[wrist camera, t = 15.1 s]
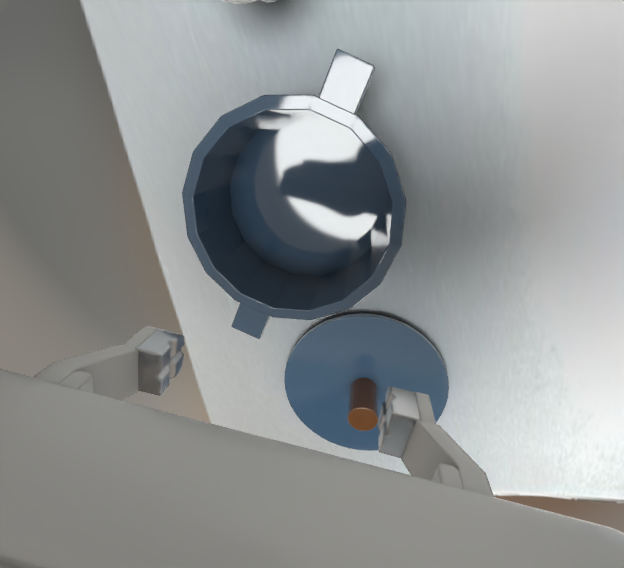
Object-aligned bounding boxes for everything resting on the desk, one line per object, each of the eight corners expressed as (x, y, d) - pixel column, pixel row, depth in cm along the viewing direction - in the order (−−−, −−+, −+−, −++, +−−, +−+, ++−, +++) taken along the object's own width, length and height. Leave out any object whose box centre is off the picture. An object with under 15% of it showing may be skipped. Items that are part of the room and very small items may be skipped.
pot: (450, 116, 27) (476, 110, 20) (337, 330, 35) (329, 376, 28) (267, 31, 27) (233, -3, 20) (195, 266, 35) (154, 298, 28)
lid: (479, 353, 34) (497, 391, 29) (397, 462, 40) (401, 509, 35) (323, 283, 34) (315, 309, 29) (265, 404, 40) (250, 442, 35)
